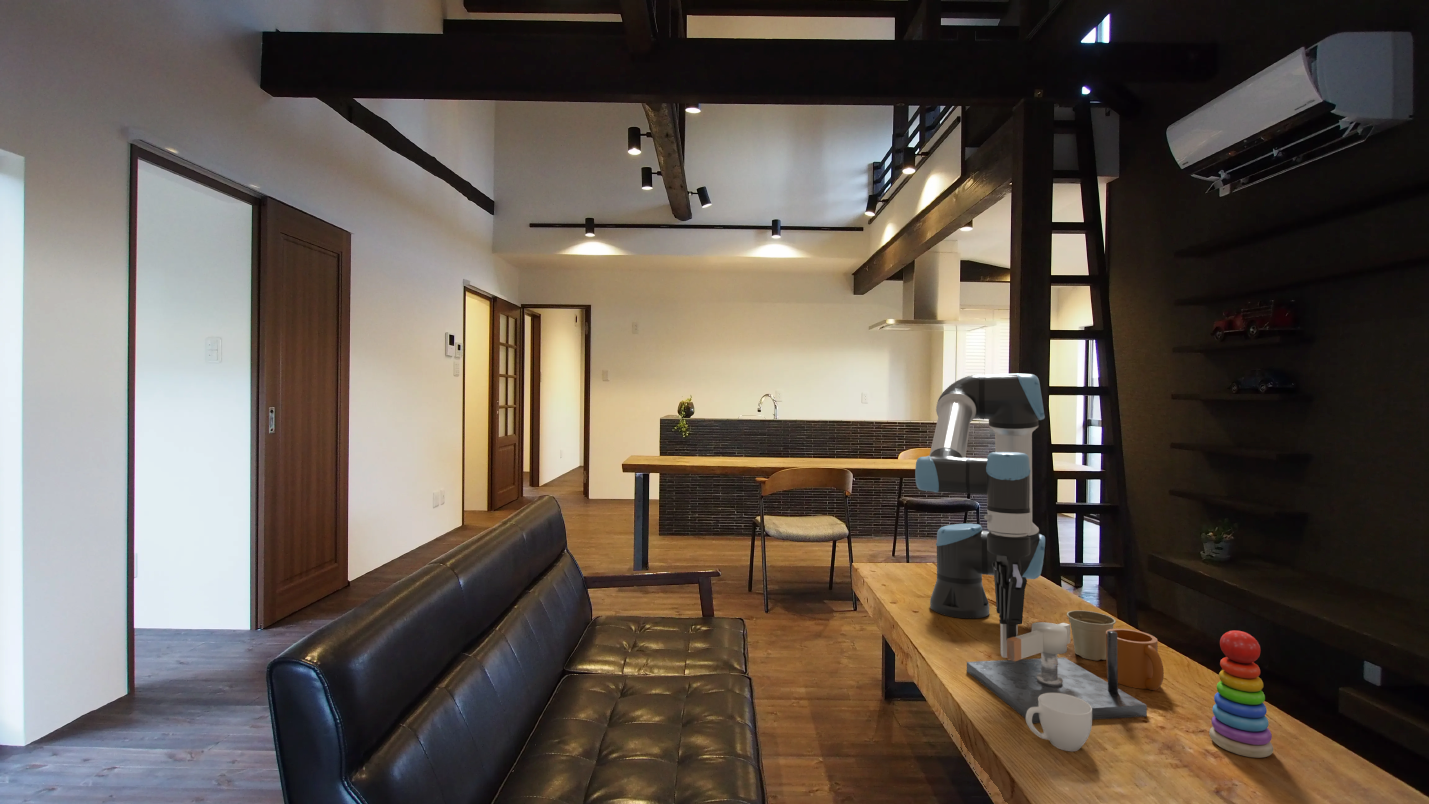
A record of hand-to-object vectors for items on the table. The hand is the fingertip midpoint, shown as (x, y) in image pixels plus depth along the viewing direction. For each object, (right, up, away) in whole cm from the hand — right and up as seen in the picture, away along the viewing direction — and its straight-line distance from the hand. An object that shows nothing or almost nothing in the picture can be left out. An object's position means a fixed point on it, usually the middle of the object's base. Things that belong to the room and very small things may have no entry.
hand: (1009, 656), depth 120 cm
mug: (+28, -8, +6) cm, 30 cm away
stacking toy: (+29, -7, -18) cm, 35 cm away
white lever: (+6, +1, 0) cm, 6 cm away
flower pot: (+28, -8, +20) cm, 35 cm away
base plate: (+9, -8, +2) cm, 11 cm away
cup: (0, -7, -18) cm, 19 cm away
